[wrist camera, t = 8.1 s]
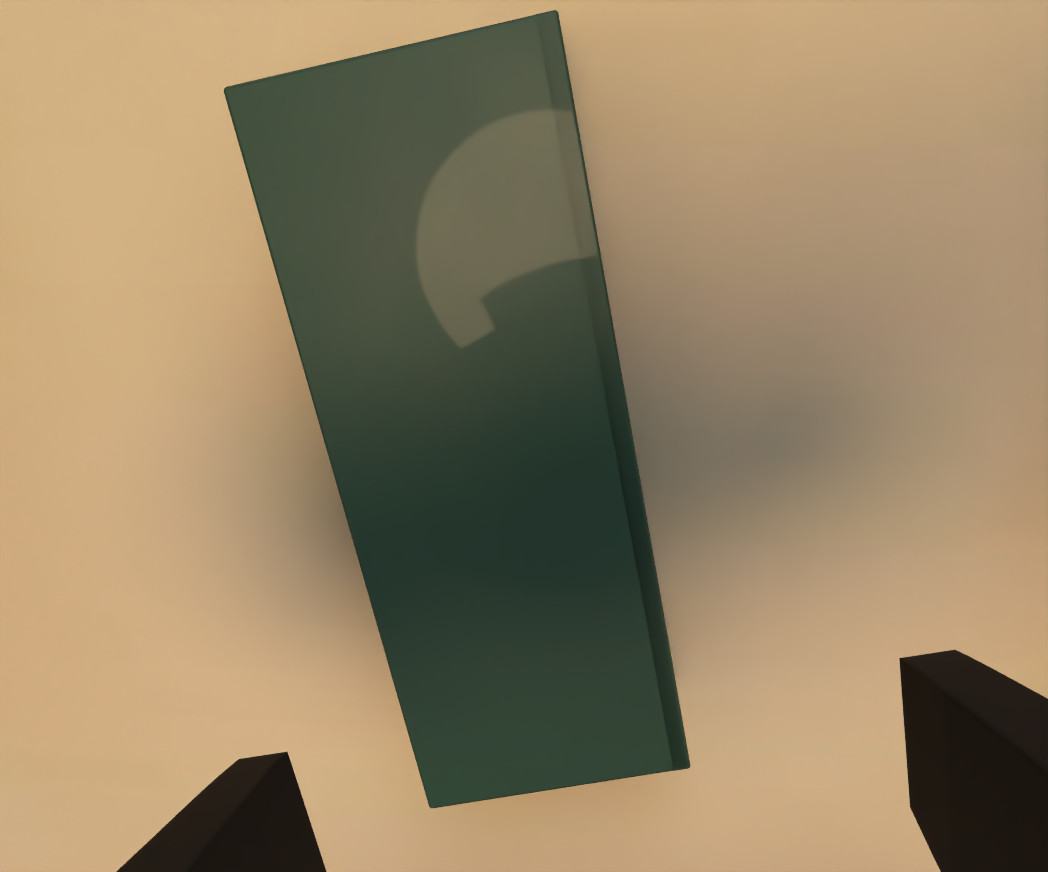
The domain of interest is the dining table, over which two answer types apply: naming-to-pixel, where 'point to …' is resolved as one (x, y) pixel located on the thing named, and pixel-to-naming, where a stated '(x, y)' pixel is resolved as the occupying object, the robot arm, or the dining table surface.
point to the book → (472, 401)
